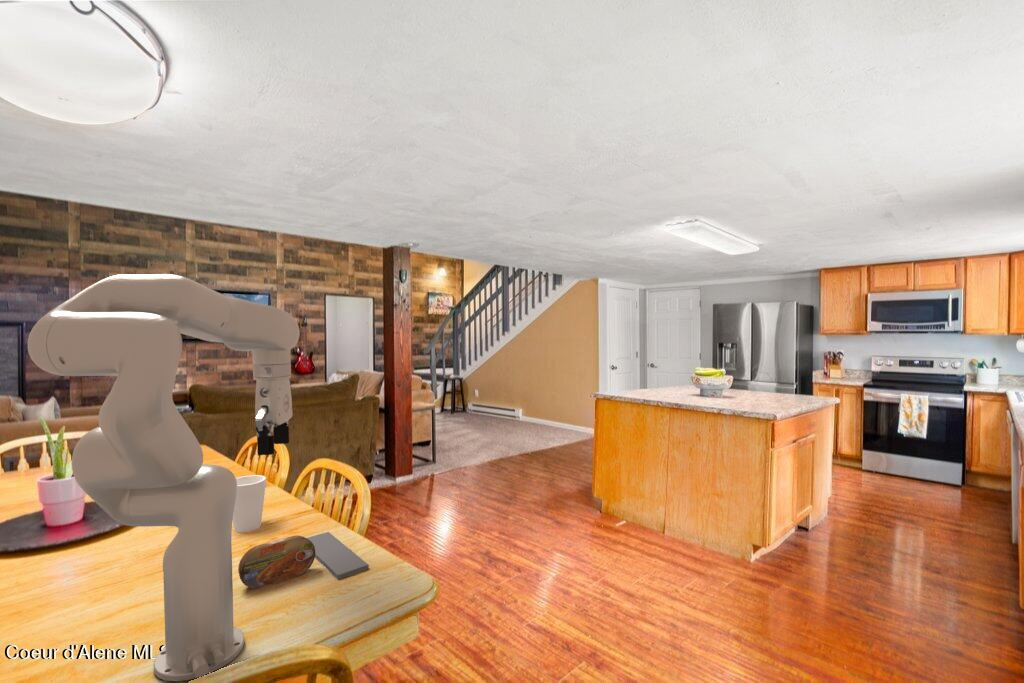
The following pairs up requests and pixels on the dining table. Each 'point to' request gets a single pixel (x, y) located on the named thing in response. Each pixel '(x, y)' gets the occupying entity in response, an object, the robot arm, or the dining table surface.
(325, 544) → the charcoal mat
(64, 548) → the dining table surface
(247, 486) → the foam cup
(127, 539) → the dining table surface
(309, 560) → the tin
